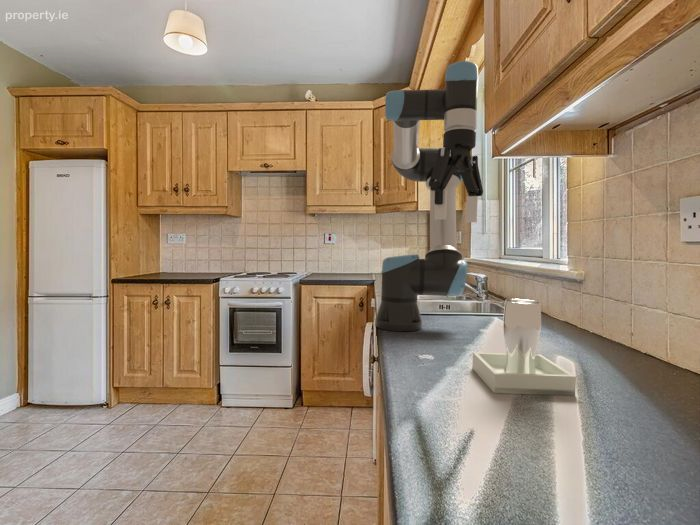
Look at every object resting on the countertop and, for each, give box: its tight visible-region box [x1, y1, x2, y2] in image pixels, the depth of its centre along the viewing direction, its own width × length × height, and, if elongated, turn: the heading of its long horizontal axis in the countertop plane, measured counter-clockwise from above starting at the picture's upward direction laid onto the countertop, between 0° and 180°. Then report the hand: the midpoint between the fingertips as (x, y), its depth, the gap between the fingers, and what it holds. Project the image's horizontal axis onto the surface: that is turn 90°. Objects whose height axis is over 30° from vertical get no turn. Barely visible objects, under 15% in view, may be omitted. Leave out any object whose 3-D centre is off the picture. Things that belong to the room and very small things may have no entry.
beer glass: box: [502, 298, 542, 374], centre depth 81 cm, size 7×7×15 cm
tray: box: [472, 352, 577, 396], centre depth 81 cm, size 15×15×4 cm
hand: (456, 221), depth 98 cm, fingers open, 13 cm apart
